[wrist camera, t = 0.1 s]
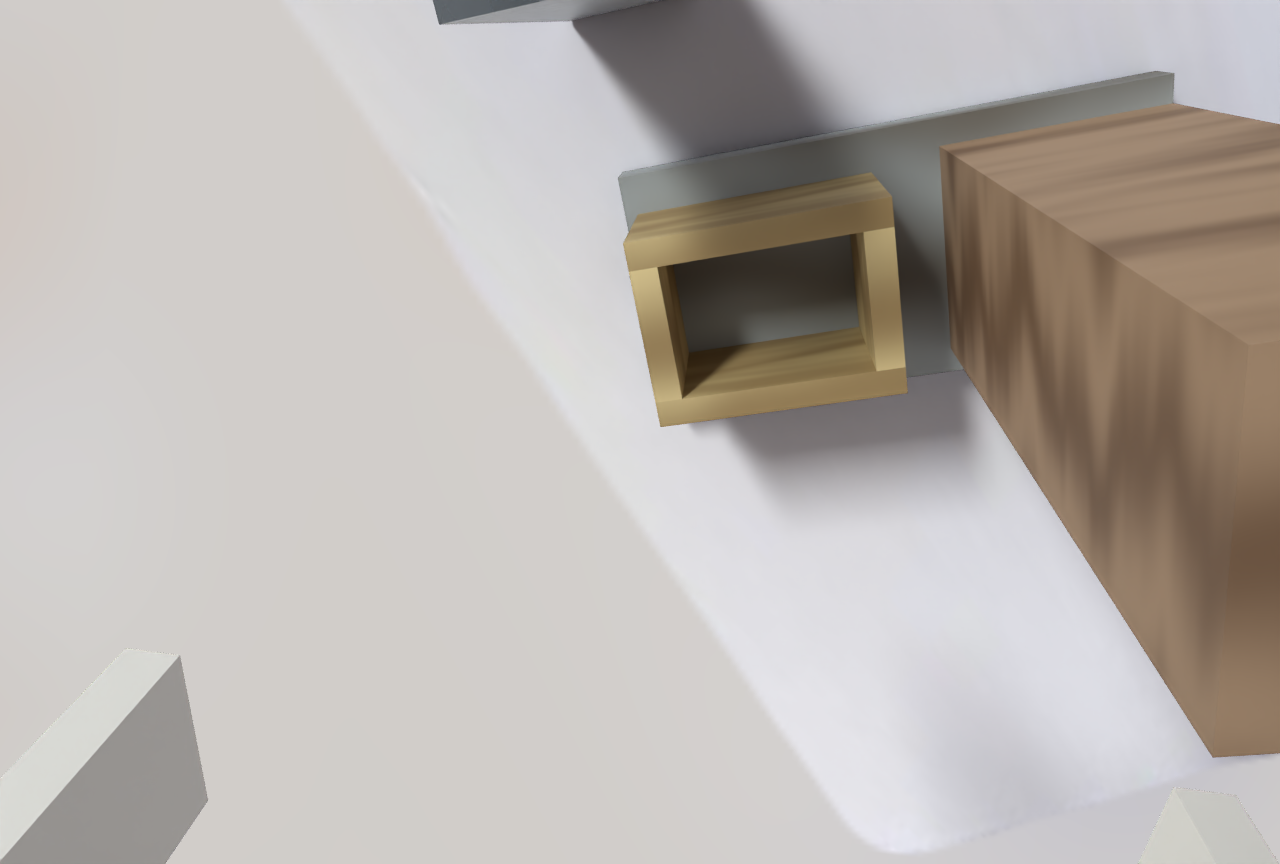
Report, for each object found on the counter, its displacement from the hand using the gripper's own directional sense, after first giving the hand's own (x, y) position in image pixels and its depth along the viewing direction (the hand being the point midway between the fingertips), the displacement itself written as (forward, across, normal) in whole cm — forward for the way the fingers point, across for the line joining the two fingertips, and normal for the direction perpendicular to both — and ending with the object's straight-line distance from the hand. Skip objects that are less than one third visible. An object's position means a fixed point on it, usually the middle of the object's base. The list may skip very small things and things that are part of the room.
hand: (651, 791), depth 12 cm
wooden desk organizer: (+28, +7, +1) cm, 29 cm away
